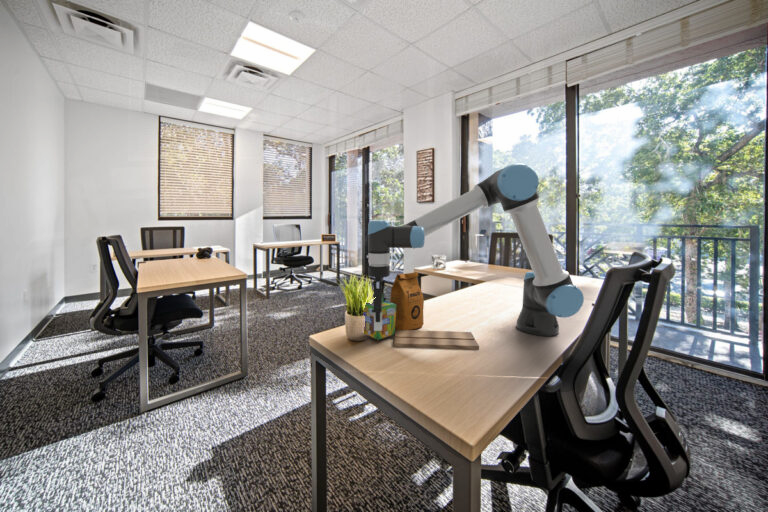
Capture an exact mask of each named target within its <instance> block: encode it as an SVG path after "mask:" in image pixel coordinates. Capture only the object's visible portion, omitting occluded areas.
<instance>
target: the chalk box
mask: <svg viewBox="0 0 768 512" xmlns="http://www.w3.org/2000/svg"><path fill="white" fill-rule="evenodd" d="M372 296H373V297H374V294H373V295H372ZM373 297H372V298H373ZM372 300H373V303H372V304H370V303H366V305H365V308H364V310H363V315H364V316H365V327H364V334H363V335H366V336H368V337H370V338H372V339H374V340H376V341H379V340H382V339H385V338H388V337H391V336H395V330H396V329H395V321H396V304H394V303H391V302H390V301H389V300H386V301H385V300H383V294H382V331H374V312H372V310H373V309H374V299H372Z"/></svg>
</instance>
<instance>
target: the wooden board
mask: <svg viewBox="0 0 768 512" xmlns="http://www.w3.org/2000/svg"><path fill="white" fill-rule="evenodd" d="M393 344H394V347H395V348H415V349H417V348H418V349H419V348H420V349H421V348H422V349H424V348H426V349H447V350H448V349H449V350H450V349H453V350H455V349H456V350H478V351H479V350H480V345H479V343H478V342H477V340H476V339H475V340H456V339H424V338H395V337H394V343H393Z"/></svg>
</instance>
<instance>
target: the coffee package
mask: <svg viewBox="0 0 768 512" xmlns="http://www.w3.org/2000/svg"><path fill="white" fill-rule="evenodd" d="M418 276H419V272H417V271H415V272H409V273H408V272H407V273H400V274H398V273H397V274H396V276H395V279H394V281H393V284H392V286H391V290H390V297H389V298H390V301H389V302H391V303H394V304H396V321H395V330H418V329H419V328H422V327H424V326H423V325H424V307H425V305H424V304H425V302H424V301H425V300H424V295H423V292H422V290H421V287H420V284H419V281H418V278H417V277H418Z"/></svg>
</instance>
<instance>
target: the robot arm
mask: <svg viewBox="0 0 768 512" xmlns="http://www.w3.org/2000/svg"><path fill="white" fill-rule="evenodd" d="M539 183H540V179H539V176H538V174H537V172H536V170H535V169H534V168H532V167H531V166H530V165H527V164H525V163H515V164H512V163H511V164H510V165H507V166H506V167H503V168H500V169H499V170H497V171H495V172H494V173H492V174H491V175H490V176H488V177H486V178H485V179H484V180H482V181H480V182H479V183H477V184H475V185H474V187H473V188H472V189H471V190H468V191H467V192H465V193H462V195H460V196H457V197H456V198H454V199H452V200H450V201H448V202H446V203H444V204H442V205H441V206H439V207H436V208H434V209H433V210H431V211H429V212H426V213H425V214H423V215H421V216H419V217H416V218H415V219H413V220H412V221H410V222H407V223H406V224H404V225H401V226H397V225H396V226H392V225H391V223H390V221H389V220H371V221H369V222H368V226H367V227H368V228H367V247H368V248H367V250H368V251H367V252H368V254H367V255H366V258H367V259H368V264H369V265H368V269H367V271H368V272H367V273H368V277H371V278H374V280H373V282H372V286H373V295H374V298H375V297H376V298H375V299H374V298H373V300H374V309H373V310H372V312H374V331H382V294H383V300H385V301H387V297H385V285H386V281H385V280H384V278H387V277H389V276H390V274H391V272H390V271H391V270H390V269H391V267H390V265H389V264H390V263H391V253H390V249H420V248H424V245H425V237H426V236H428V235H430V234H432V233H434V232H436V231H438V230H440V229H442V228H444V227H447V226H448V225H450V224H452V223H454V222H456V221H458V220H460V219H462V218H464V217H465V216H468V215H469V214H472V213H474V212H476V211H478V210H479V209H481V208H484V209H488V208H490V207H491V206H494V205H496V204H497V205H498V204H500V205H501V207H502V210H503V212H504V213H507V214H509V215H510V217H511V219H512V222H513V224H514V227H515V229H516V232H517V234H518V237H519V239H520V242H521V245H522V247H523V250H524V252H525V255H526V258H527V259H528V262H529V265H530V267H531V269H532V271H527V272H525V273H524V278H523V288H522V289H523V291H522V307H521V310H520V313H519V315H518V317H517V319H516V324H515V326H516V329H518V330H520V331H521V332H524V333H526V334H530V335H535V336H542V337H543V336H544V337H552V336H556V335H558V334H559V333H560V332H559V331H560V325H559V321H558V318H562V319H564V318H565V319H566V318H570V317H573V316H575V315H576V314H577V313H579V311H580V310H581V308H582V306H583V304H584V300H585V297H584V293H583V292H582V290H581V289H580V288H579V287H578V286H577V285H574V284H573V280H572V278H571V275H570V273H569V271H567V270H564V269H562V267H561V264H560V261H559V259H558V255H557V253H556V251H555V248H554V245H553V244H552V241H551V238H550V236H549V233H548V231H547V227H546V225H545V222H544V220H543V217H542V214H541V213H540V212H541V211H540V209H539V206H538V202H539V199H541V198H540V195H539V193H538V187H539ZM557 317H558V318H557Z"/></svg>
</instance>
